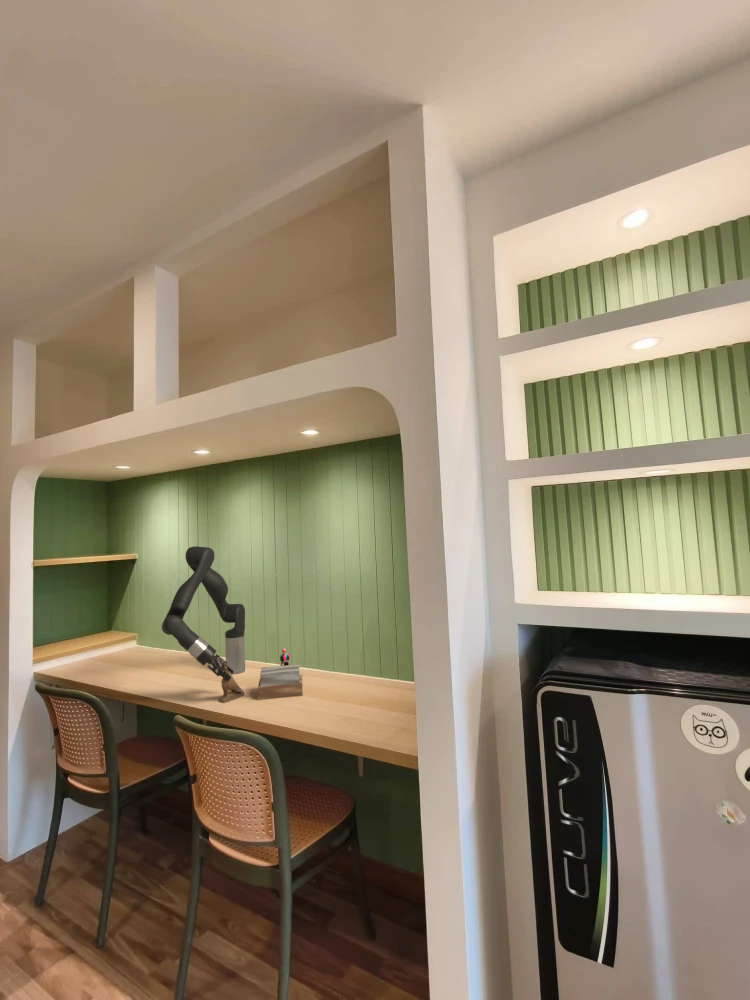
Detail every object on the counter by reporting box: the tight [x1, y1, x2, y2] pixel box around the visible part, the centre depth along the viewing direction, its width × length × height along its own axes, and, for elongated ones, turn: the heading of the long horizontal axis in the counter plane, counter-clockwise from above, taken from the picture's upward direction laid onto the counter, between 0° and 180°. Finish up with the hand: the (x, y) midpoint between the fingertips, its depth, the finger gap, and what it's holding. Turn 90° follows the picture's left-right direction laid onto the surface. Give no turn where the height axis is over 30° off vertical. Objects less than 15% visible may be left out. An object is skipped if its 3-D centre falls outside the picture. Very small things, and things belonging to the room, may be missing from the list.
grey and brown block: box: [257, 664, 304, 701], centre depth 207 cm, size 12×18×10 cm, turn 100°
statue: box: [279, 648, 304, 677], centre depth 225 cm, size 11×9×15 cm
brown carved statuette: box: [218, 664, 245, 703], centre depth 203 cm, size 11×5×16 cm, turn 139°
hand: (231, 676), depth 204 cm, fingers open, 8 cm apart
